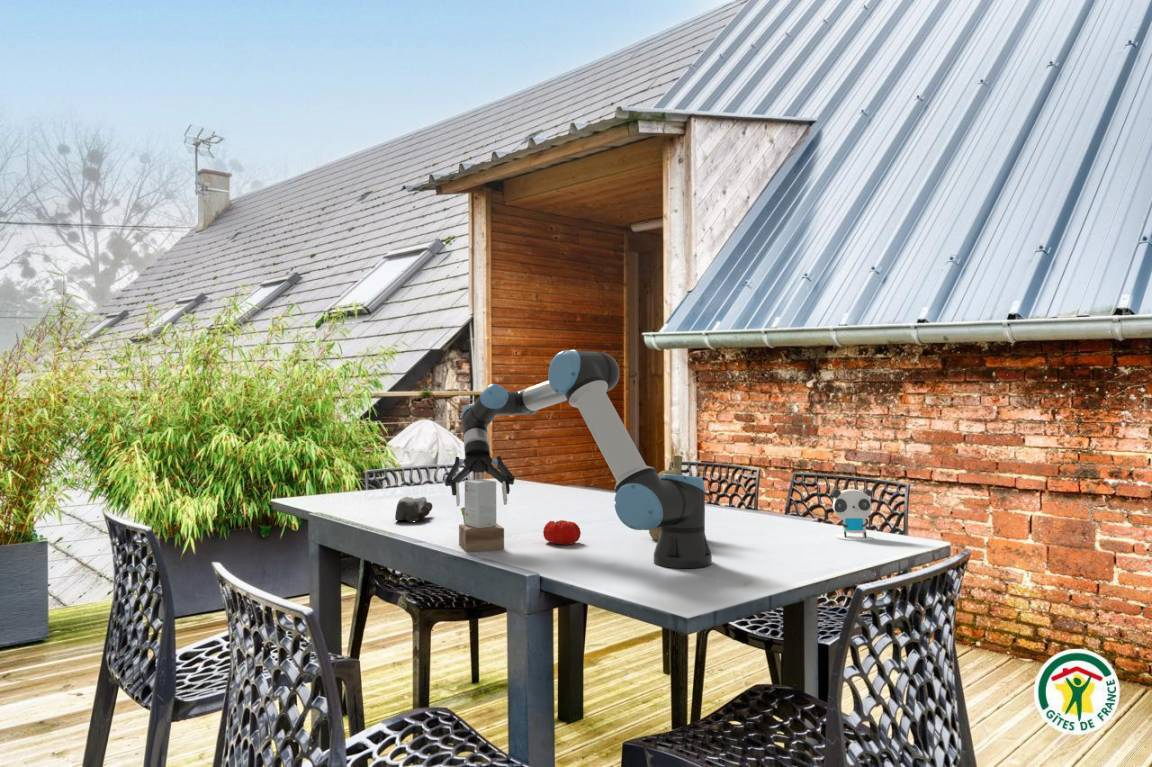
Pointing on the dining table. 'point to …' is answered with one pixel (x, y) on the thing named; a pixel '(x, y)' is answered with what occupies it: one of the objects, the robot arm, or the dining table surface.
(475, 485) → the small box
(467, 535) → the walnut block
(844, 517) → the panda figurine
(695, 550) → the robot arm
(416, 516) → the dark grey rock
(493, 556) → the dining table surface
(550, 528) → the tomato
